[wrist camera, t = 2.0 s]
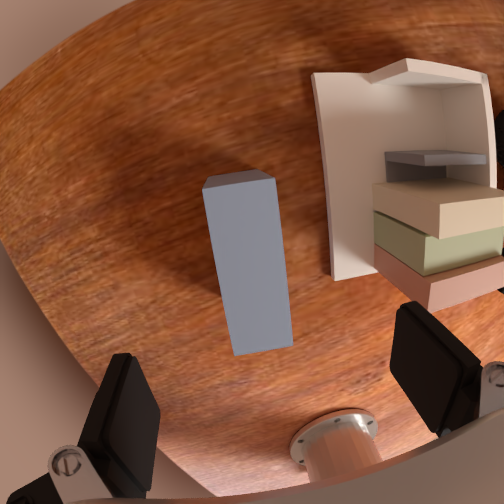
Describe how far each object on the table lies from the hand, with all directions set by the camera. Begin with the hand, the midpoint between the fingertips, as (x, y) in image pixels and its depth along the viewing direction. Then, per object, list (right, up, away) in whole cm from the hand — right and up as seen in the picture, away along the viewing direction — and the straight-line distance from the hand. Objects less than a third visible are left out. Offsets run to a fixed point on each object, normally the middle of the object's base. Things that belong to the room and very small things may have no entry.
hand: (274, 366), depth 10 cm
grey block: (-2, +5, +16) cm, 17 cm away
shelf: (+12, +11, +16) cm, 23 cm away
